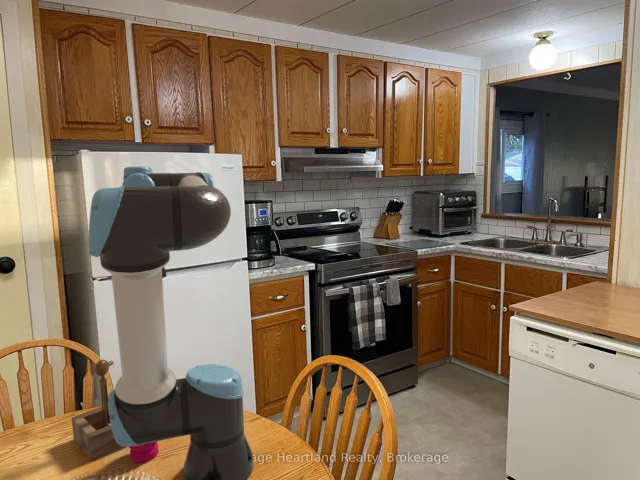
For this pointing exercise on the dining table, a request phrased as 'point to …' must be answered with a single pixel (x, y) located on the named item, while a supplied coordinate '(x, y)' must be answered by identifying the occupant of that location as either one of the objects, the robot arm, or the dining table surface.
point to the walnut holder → (94, 434)
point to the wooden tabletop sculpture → (103, 387)
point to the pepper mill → (144, 452)
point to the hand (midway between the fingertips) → (147, 298)
